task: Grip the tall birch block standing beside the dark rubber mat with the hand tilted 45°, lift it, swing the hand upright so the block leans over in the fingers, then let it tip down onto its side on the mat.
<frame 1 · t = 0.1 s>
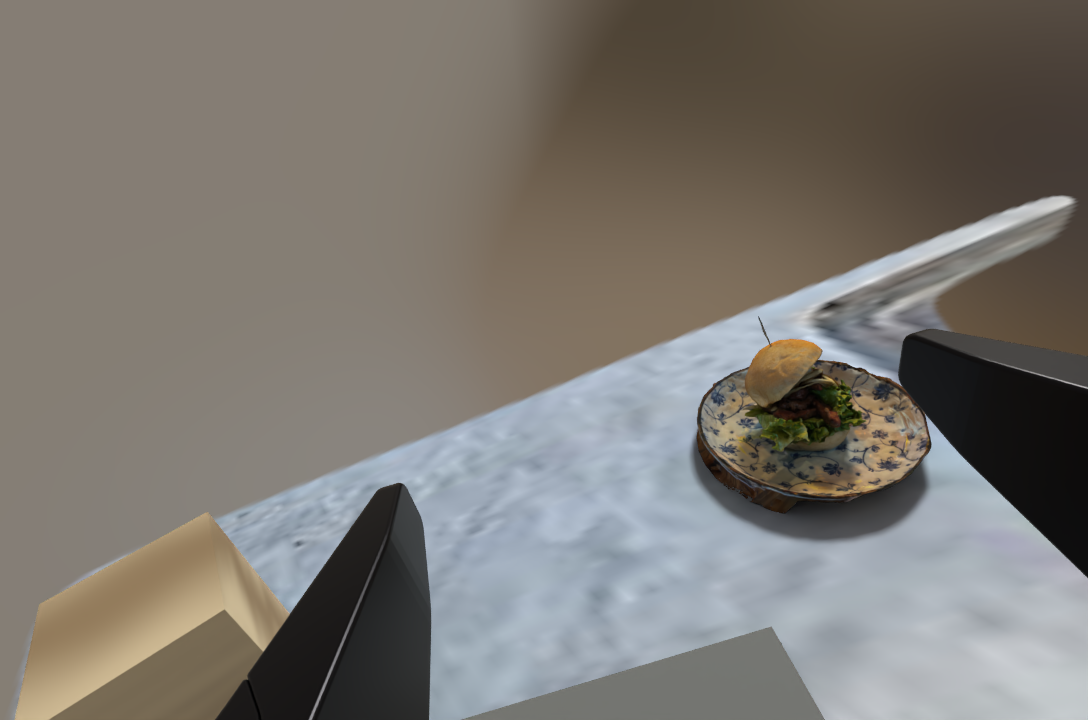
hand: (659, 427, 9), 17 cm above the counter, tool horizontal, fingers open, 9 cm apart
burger: (803, 441, 31), on the counter
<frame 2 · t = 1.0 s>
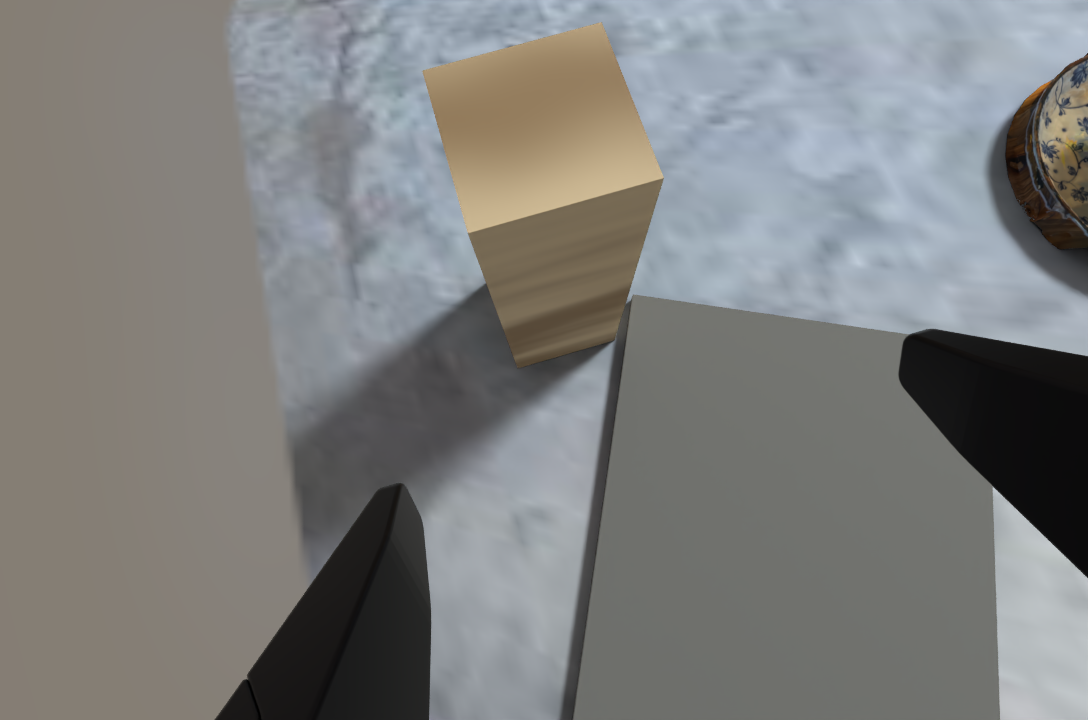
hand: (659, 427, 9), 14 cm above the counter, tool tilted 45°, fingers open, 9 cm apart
block: (551, 308, 24), on the counter
mat: (787, 533, 22), on the counter
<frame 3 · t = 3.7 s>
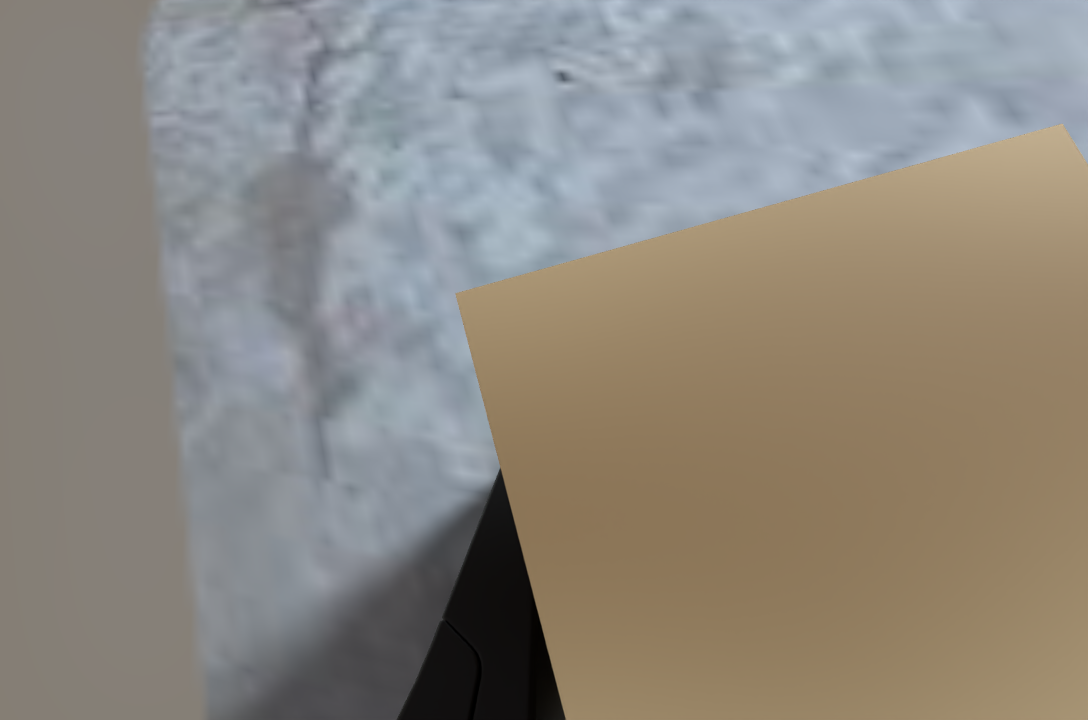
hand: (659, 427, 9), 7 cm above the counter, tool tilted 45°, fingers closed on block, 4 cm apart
block: (635, 501, 15), on the counter, touching gripper
when the fingers open (7 cm above the counter, at t = 8.8 s): block moves 2 cm and tips over, resting on mat.
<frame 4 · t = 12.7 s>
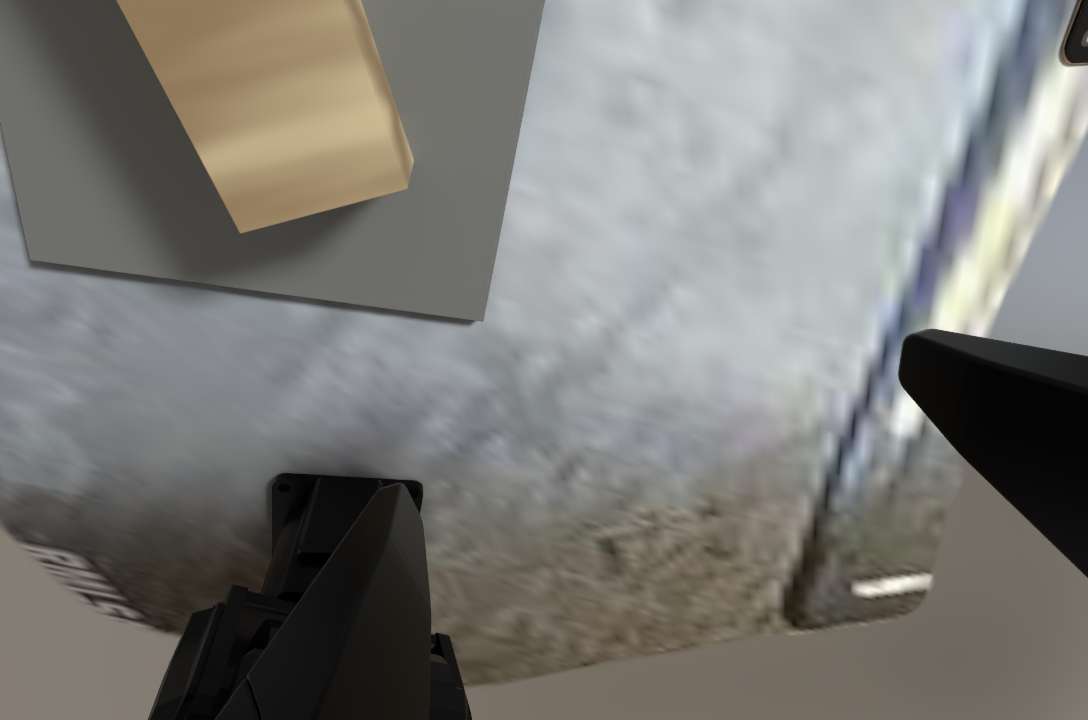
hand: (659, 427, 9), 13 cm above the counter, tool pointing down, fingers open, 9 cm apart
block: (338, 192, 16), point 3 cm above the counter, tilted 90°, touching mat
mat: (284, 7, 16), on the counter
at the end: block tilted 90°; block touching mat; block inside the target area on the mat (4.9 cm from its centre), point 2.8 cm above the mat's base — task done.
